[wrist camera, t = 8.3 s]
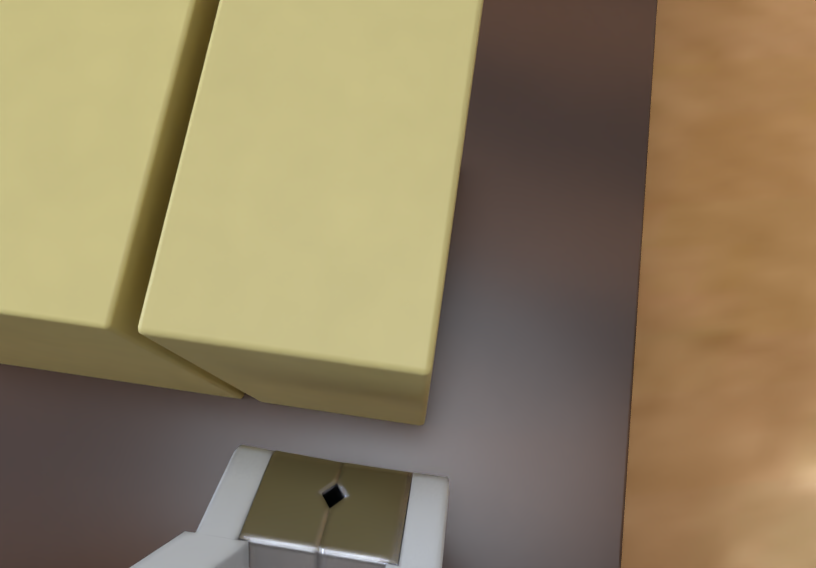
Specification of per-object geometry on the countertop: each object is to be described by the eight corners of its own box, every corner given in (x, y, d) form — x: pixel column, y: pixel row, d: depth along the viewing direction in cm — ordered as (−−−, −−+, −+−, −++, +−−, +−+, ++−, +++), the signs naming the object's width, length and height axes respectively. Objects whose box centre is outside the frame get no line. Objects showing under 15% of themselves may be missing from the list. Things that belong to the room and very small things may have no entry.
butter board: (585, 892, 14) (598, 923, 13) (-224, 749, 14) (-269, 768, 14) (652, -74, 20) (664, -103, 19) (73, -140, 20) (56, -171, 19)
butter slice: (424, 426, 15) (431, 376, 8) (257, 402, 15) (133, 333, 8) (460, 161, 17) (492, -60, 10) (310, 141, 17) (239, -90, 10)
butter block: (243, 399, 15) (108, 328, 9) (-123, 345, 16) (-530, 237, 9) (297, 140, 17) (218, -93, 10) (-37, 97, 17) (-326, -155, 10)
